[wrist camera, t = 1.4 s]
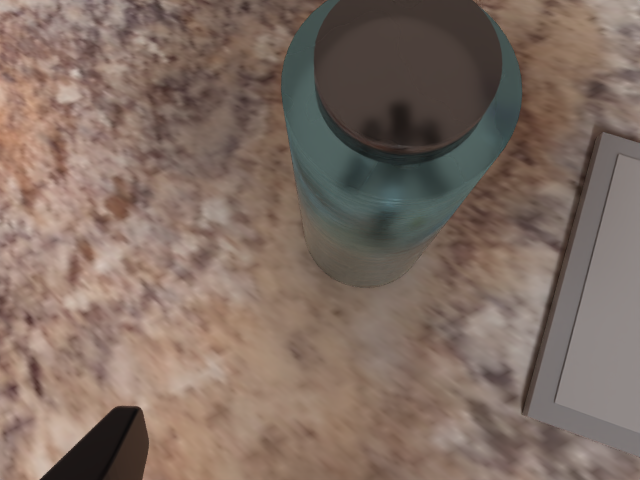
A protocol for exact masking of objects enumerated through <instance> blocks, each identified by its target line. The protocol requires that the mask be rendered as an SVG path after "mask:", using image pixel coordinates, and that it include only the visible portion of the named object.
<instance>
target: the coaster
mask: <svg viewBox="0 0 640 480" xmlns="http://www.w3.org/2000/svg"><path fill="white" fill-rule="evenodd" d="M522 415H523V416H526V417H528V418H531V419H534V420H537V421H539V422H542V423H545V424H548V425H550V426H553V427H556V428H559V429H562V430H564V431H567V432H570V433H573V434H575V435H578V436H581V437H584V438H586V439H589V440H592V441H595V442H597V443H600V444H603V445H606V446H608V447H611V448H614V449H617V450H619V451H622V452H625V453H628V454H630V455H633V456H636V457H639V458H640V143H637V142H634V141H631V140H628V139H625V138H621V137H618V136H615V135H612V134H609V133H605V132H602V133H601V134H600V135H599V136H598V137H597V138H596V141H595V145H594V149H593V152H592V156H591V160H590V163H589V167H588V171H587V175H586V178H585V182H584V186H583V190H582V193H581V197H580V201H579V204H578V208H577V212H576V216H575V219H574V223H573V227H572V231H571V234H570V238H569V242H568V245H567V249H566V253H565V257H564V260H563V264H562V268H561V272H560V275H559V279H558V283H557V286H556V290H555V294H554V298H553V301H552V305H551V309H550V313H549V316H548V320H547V324H546V327H545V331H544V335H543V339H542V342H541V346H540V350H539V353H538V357H537V361H536V365H535V368H534V372H533V376H532V380H531V383H530V387H529V391H528V394H527V398H526V402H525V406H524V409H523V413H522Z"/></svg>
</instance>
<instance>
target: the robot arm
mask: <svg viewBox="0 0 640 480" xmlns="http://www.w3.org/2000/svg"><path fill="white" fill-rule="evenodd" d="M148 448H149V438H148V433H147V429H146V424H145V420H144V415H143V411H142V409H141V408H140V407H137V406H117V407H115V408H113V409H112V410H111V411H110V412H109V413H108V414H107V415H106V416H105V417H104V418H103V419H102V420H101V421H100V422H99V423H98V424H97V425H96V426H95V427H94V428H93V429H92V430H91V431H89V432H88V433H87V434H86V435H85V436H84V437H83V438H82V439H81V440H80V441H79V442H78V443H77V444H76V445H75V446H74V447H73V448H72V449H71V450H70V451H69V452H68V453H67V454H66V455H65V456H64V457H63V458H62V459H61V460H59V461H58V462H57V463H56V464H55V465H54V466H53V467H52V468H51V469H50V470H49V471H48V472H47V473H46V474H45V475H44V476H43V477H42V478H41V479H40V480H142V478H143V473H144V468H145V464H146V459H147V455H148Z"/></svg>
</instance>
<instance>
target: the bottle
mask: <svg viewBox="0 0 640 480" xmlns="http://www.w3.org/2000/svg"><path fill="white" fill-rule="evenodd" d="M281 93H282V102H283V109H284V115H285V121H286V127H287V133H288V139H289V145H290V151H291V157H292V163H293V169H294V175H295V181H296V187H297V193H298V199H299V205H300V211H301V217H302V223H303V229H304V235H305V240H306V244H307V247H308V250H309V252H310V254H311V256H312V258H313V260H314V261H315V262H316V264H317V265H318V266H319V267H320V268H321V269H322V270H323V271H324V272H325V273H326V274H328V275H329V276H330V277H332V278H333V279H335V280H337V281H339V282H341V283H344V284H347V285H350V286H355V287H368V288H369V287H377V286H381V285H385V284H388V283H390V282H393V281H394V280H396V279H398V278H400V277H401V276H402V275H404V274H405V273H406V272H407V271H408V270H409V269H410V268H411V267H412V266H413V265H414V263H415V262H416V261H417V259H418V258H419V257H420V256H421V254H422V253H423V252H424V251H425V249H426V248H427V247H428V245H429V244H430V243H431V242H432V240H433V239H434V238H435V236H436V235H437V234H438V233H439V231H440V230H441V229H442V227H443V226H444V225H445V224H446V222H447V221H448V220H449V219H450V217H451V216H452V215H453V213H454V212H455V211H456V210H457V208H458V207H459V206H460V204H461V203H462V202H463V201H464V199H465V198H466V197H467V196H468V194H469V193H470V192H471V190H472V189H473V188H474V187H475V185H476V184H477V183H478V181H479V180H480V179H481V178H482V176H483V175H484V174H485V173H486V171H487V170H488V169H489V167H490V166H491V165H492V164H493V162H494V161H495V160H496V158H497V157H498V156H499V155H500V153H501V152H502V151H503V149H504V148H505V147H506V145H507V143H508V141H509V140H510V138H511V136H512V134H513V132H514V129H515V127H516V124H517V121H518V118H519V113H520V109H521V101H522V82H521V74H520V69H519V65H518V61H517V59H516V56H515V53H514V50H513V48H512V46H511V45H510V43H509V41H508V39H507V37H506V35H505V34H504V33H503V31H502V30H501V28H500V27H499V26H498V24H497V23H496V22H495V21H494V20H493V19H492V18H491V17H490V16H489V15H488V14H487V13H486V12H485V11H484V10H483V9H481V8H480V7H479V6H478V5H477V4H476V3H475V2H474V1H473V0H328V1H326V2H325V3H323V4H322V5H321V6H320V7H319V8H317V9H316V10H315V11H314V12H313V13H312V14H311V15H310V16H309V17H308V18H307V19H306V20H305V22H304V23H303V24H302V25H301V27H300V28H299V30H298V31H297V33H296V34H295V36H294V38H293V40H292V42H291V44H290V46H289V48H288V51H287V54H286V57H285V60H284V65H283V71H282V80H281Z"/></svg>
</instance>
